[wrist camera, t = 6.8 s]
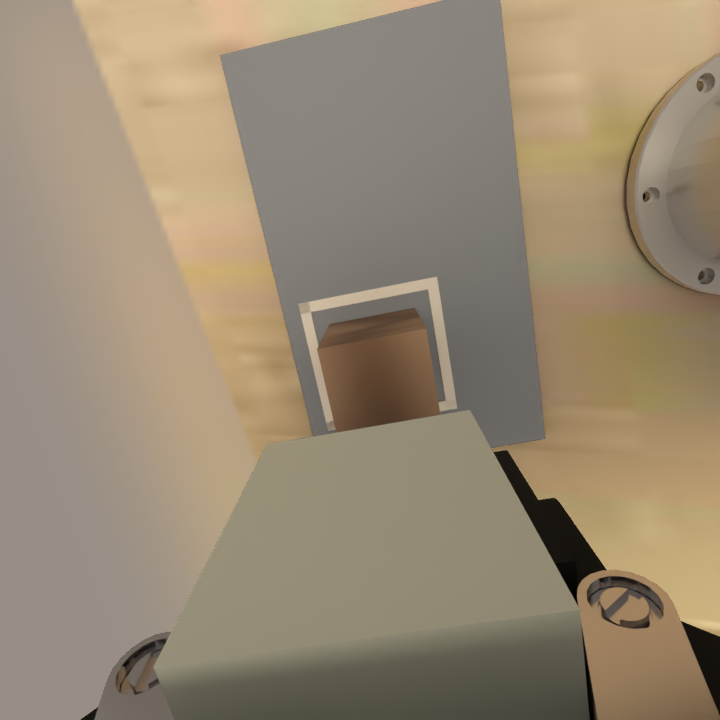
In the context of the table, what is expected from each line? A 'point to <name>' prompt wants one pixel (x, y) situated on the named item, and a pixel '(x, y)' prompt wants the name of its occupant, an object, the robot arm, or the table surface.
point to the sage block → (378, 590)
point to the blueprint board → (397, 198)
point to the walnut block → (378, 370)
